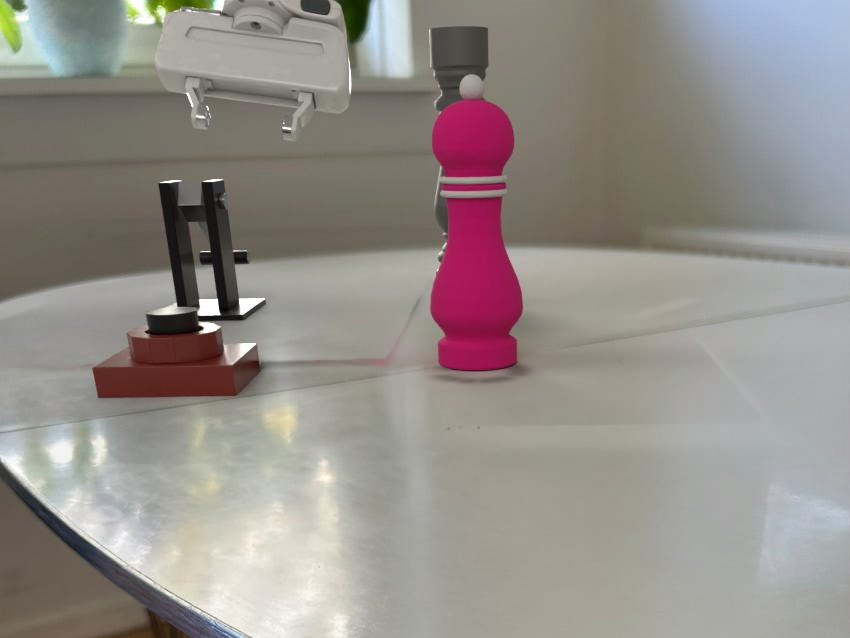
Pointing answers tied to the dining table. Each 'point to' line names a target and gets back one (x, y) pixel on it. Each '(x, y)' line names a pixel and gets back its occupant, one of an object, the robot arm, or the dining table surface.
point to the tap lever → (201, 218)
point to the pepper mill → (475, 236)
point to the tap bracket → (221, 253)
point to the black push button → (172, 321)
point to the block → (177, 365)
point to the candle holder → (454, 83)
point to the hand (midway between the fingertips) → (244, 131)
